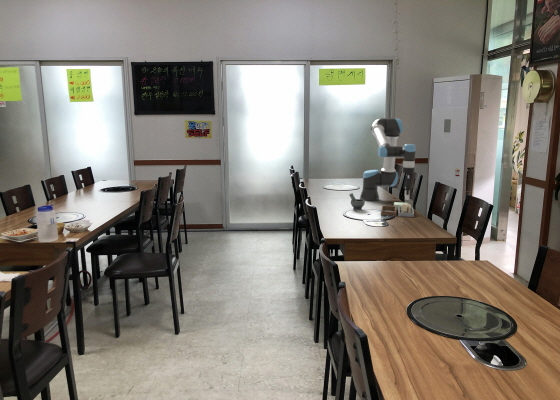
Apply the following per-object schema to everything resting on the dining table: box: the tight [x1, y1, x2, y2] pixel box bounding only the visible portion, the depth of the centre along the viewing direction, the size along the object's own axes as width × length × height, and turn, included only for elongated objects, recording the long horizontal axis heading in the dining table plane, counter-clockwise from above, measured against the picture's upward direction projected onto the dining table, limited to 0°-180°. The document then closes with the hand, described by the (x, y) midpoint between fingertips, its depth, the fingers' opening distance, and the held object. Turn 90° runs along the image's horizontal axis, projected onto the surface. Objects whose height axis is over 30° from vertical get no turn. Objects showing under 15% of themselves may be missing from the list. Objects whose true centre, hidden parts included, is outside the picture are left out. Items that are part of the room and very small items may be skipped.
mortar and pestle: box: [349, 192, 366, 211], centre depth 323 cm, size 11×9×12 cm
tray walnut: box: [380, 205, 397, 217], centre depth 316 cm, size 20×10×2 cm, turn 166°
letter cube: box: [400, 203, 412, 213], centre depth 313 cm, size 6×6×6 cm
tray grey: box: [397, 206, 415, 218], centre depth 313 cm, size 20×10×2 cm, turn 166°
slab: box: [393, 201, 409, 211], centre depth 329 cm, size 10×10×4 cm
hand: (406, 197), depth 311 cm, fingers open, 13 cm apart
